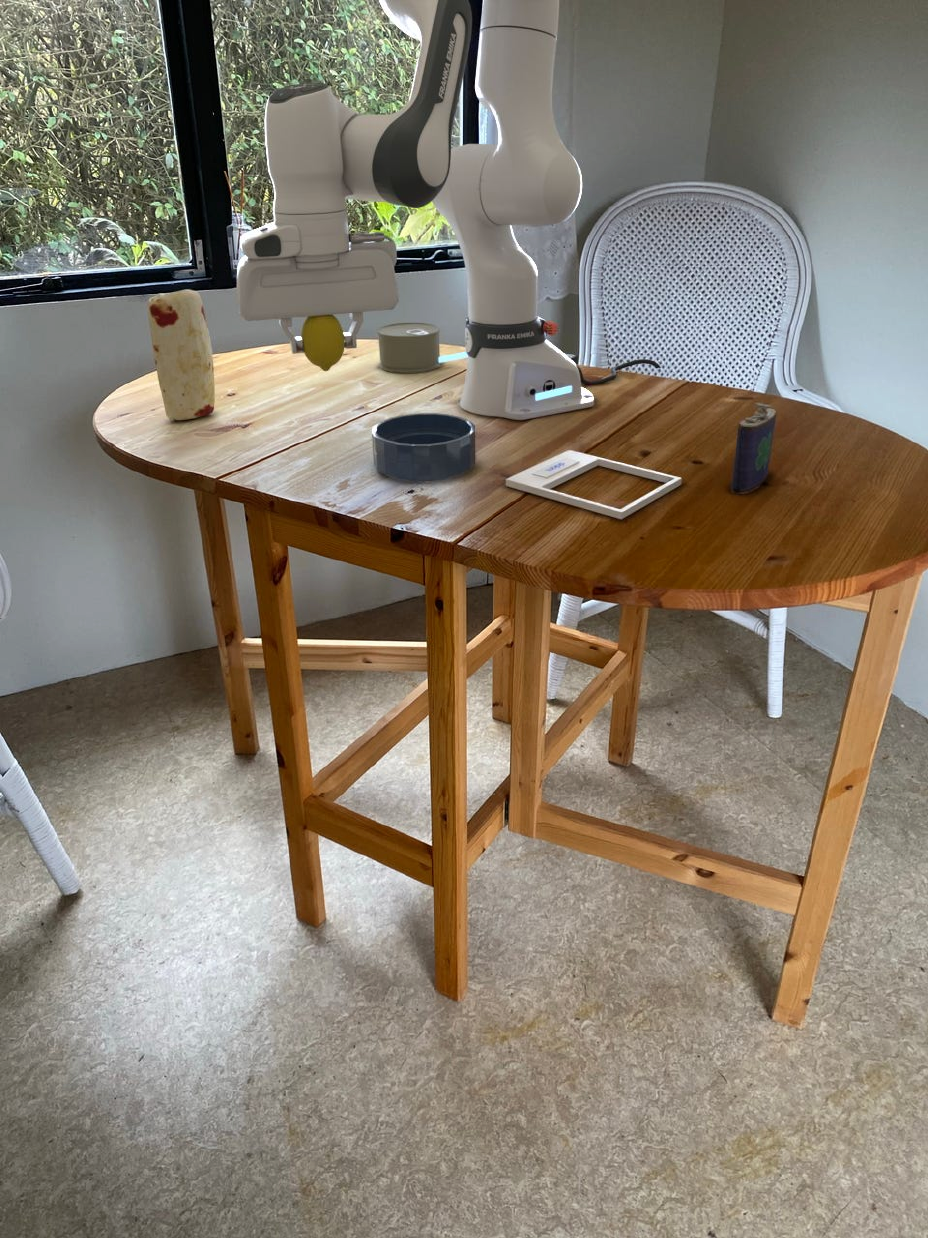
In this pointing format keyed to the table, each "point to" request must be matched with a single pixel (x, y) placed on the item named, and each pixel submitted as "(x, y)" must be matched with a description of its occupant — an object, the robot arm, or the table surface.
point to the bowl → (424, 446)
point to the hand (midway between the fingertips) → (323, 350)
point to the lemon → (323, 340)
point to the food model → (182, 354)
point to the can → (409, 347)
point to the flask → (753, 450)
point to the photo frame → (576, 463)
